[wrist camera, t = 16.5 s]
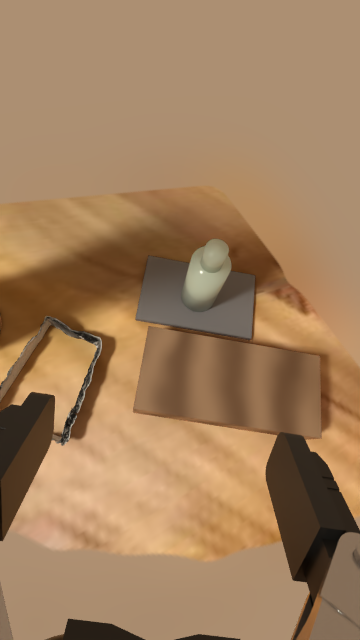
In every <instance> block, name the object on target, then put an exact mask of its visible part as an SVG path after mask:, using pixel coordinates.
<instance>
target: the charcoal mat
mask: <svg viewBox="0 0 360 640" xmlns="http://www.w3.org/2000/svg"><path fill="white" fill-rule="evenodd" d="M189 264H190V263H186V262H181V261H175V260H170V259H165V258H159V257H154V256H149V255H148V260H147V265H146V270H145V275H144V280H143V285H142V290H141V294H140V299H139V304H138V309H137V314H136V320H138V321H144V322H149V323H155V324H161V325H167V326H172V327H178V328H184V329H190V330H195V331H201V332H207V333H213V334H218V335H224V336H230V337H235V338H241V339H247V340H251V337H252V321H253V305H254V289H255V275H251V274H245V273H240V272H235V271H230V273H229V275H228V277H227V279H226V281H225V282H224V284H223V286H222V288H221V290H220V292H219V294H218V296H217V298H216V300H215V302H214V303H213V305H212V307H211V308H210V309H208V310H206V311H204V312H195V311H192V310H190V309H188V308H187V307H186V306H185V305H184V304H183V302H182V299H181V292H182V289H183V285H184V282H185V278H186V275H187V271H188V268H189Z"/></svg>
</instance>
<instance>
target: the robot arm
mask: <svg viewBox="0 0 360 640" xmlns="http://www.w3.org/2000/svg"><path fill="white" fill-rule="evenodd" d="M1 327H2V319H1V315H0V331H1ZM54 412H55V396H54V395H48V394H42V393H36V392H31V393H30V394H29V395H28V397H27V398H26V400H25V401H24V403H23V404H22V405H21V406H18V405H10V406H9V407H7V408H5V409H4V410H2V411H1V412H0V541H3V539H4V537H5V536H6V533H7V531H8V529H9V527H10V525H11V523H12V521H13V519H14V517H15V515H16V513H17V511H18V509H19V507H20V505H21V503H22V501H23V499H24V497H25V495H26V493H27V491H28V489H29V487H30V485H31V483H32V481H33V479H34V477H35V475H36V473H37V471H38V469H39V467H40V465H41V463H42V461H43V459H44V457H45V455H46V453H47V451H48V449H49V446H50V444H51V440H52V436H53V431H54ZM266 482H267V486H268V489H269V493H270V497H271V501H272V504H273V508H274V512H275V516H276V519H277V523H278V527H279V531H280V534H281V538H282V542H283V545H284V549H285V553H286V557H287V560H288V564H289V568H290V572H291V575H292V579H293V580H294V581H301V582H307V584H308V587H309V591H310V592H309V594H308V596H307V598H306V601H305V603H304V606H303V608H302V611H301V614H300V616H299V619H298V622H297V624H296V627H295V629H294V632H293V635H292V638H291V640H360V530H359V528H358V526H357V524H356V522H355V520H354V518H353V516H352V514H351V512H350V510H349V508H348V506H347V504H346V502H345V500H344V498H343V496H342V494H341V492H339V487H338V485H337V483H336V481H334V477H333V475H332V473H331V471H330V469H329V467H328V465H327V464H326V463H325V462H324V461H323V460H322V458H321V457H320V456H319V455H318V454H317V453H316V452H310V449H309V447H308V445H307V443H306V441H305V439H304V437H303V436H302V435H297V434H291V433H285V432H280V433H279V434H278V436H277V439H276V441H275V444H274V446H273V449H272V452H271V454H270V457H269V459H268V462H267V466H266ZM0 640H13V637H12V632H11V628H10V623H9V619H8V614H7V610H6V606H5V601H4V597H3V592H2V588H1V584H0ZM46 640H145V639H142V638H140V637H138V636H136V635H134V634H131V633H130V632H128V631H125V630H123V629H121V628H119V627H117V626H115V625H113V624H108V623H99V622H91V621H83V620H73V619H68V622H67V625H66V629H65V633H64V634H63V635H58V636H54V637H51V638H49V639H46ZM176 640H240V639H235V638H226V637H218V636H209V635H201V634H198V635H193V636H189V637H185V638H180V639H176Z"/></svg>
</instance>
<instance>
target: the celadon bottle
mask: <svg viewBox="0 0 360 640" xmlns="http://www.w3.org/2000/svg"><path fill="white" fill-rule="evenodd" d="M228 253H229V248H228V245H227V244H226V243H225V242H224V241H222V240H220V239H211V240H209V241H208V242H207V243H206V246H203V247H200V248H199V249H197V250H196V251H195V252H194V253H193V255H192V258H191V261H190V264H189V268H188V271H187V275H186V278H185V282H184V285H183V289H182V292H181V299H182V302H183V304H184V305H185V306H186V307H187V308H188V309H190V310H192V311H195V312H204V311H206V310H208V309H210V308H211V307H212V305H213V303H214V302H215V300H216V298H217V296H218V294H219V292H220V290H221V288H222V286H223V284H224V282H225V281H226V279H227V277H228V275H229V273H230V271H231V260H230V258H229V256H228Z"/></svg>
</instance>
